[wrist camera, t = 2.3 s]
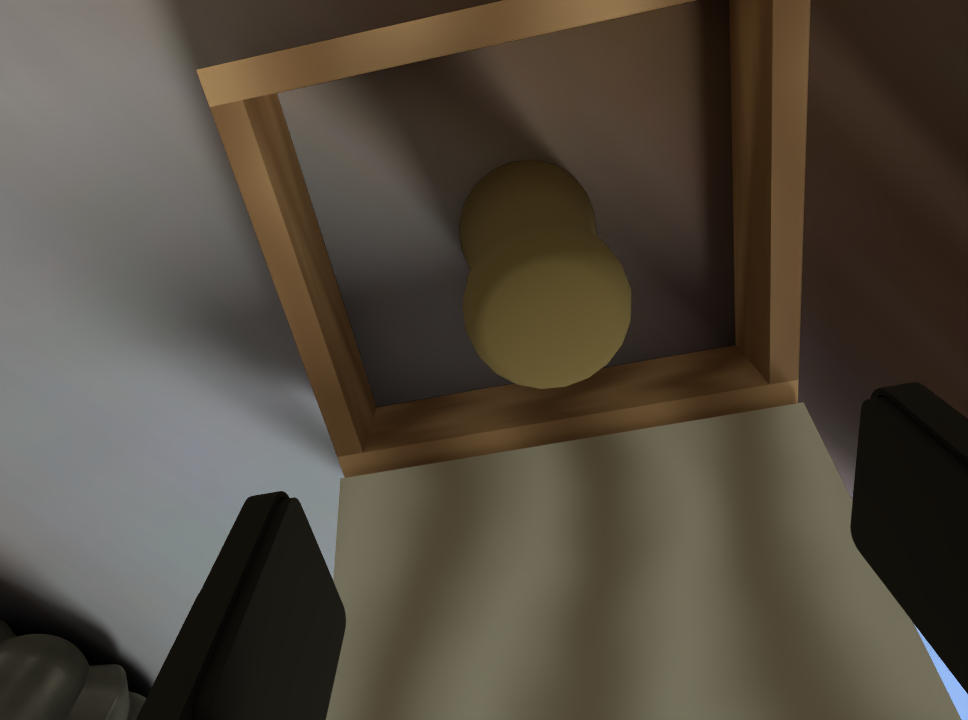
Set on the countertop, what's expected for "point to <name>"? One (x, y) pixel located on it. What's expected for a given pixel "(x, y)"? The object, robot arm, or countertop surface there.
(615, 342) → the cork
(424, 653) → the cold frame
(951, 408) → the robot arm
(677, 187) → the countertop surface
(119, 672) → the bundt pan
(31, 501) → the countertop surface
